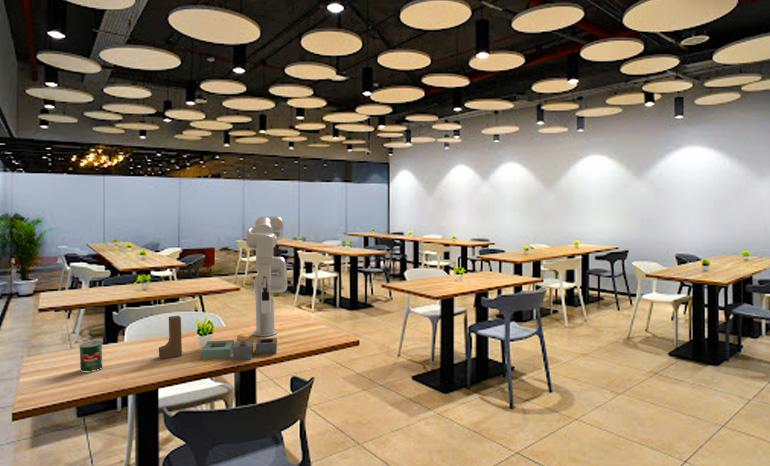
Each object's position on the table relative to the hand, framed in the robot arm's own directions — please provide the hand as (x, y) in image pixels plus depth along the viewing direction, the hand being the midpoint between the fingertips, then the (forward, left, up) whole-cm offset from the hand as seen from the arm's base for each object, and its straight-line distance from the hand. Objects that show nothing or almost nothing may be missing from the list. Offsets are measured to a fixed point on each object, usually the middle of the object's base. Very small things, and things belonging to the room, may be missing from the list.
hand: (265, 299), depth 215 cm
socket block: (0, 0, -25) cm, 25 cm away
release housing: (+6, -10, -25) cm, 28 cm away
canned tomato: (+11, -71, -25) cm, 76 cm away
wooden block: (-1, -43, -25) cm, 50 cm away
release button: (+6, -10, -24) cm, 27 cm away
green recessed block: (-1, -22, -25) cm, 33 cm away
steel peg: (0, 0, -6) cm, 6 cm away
